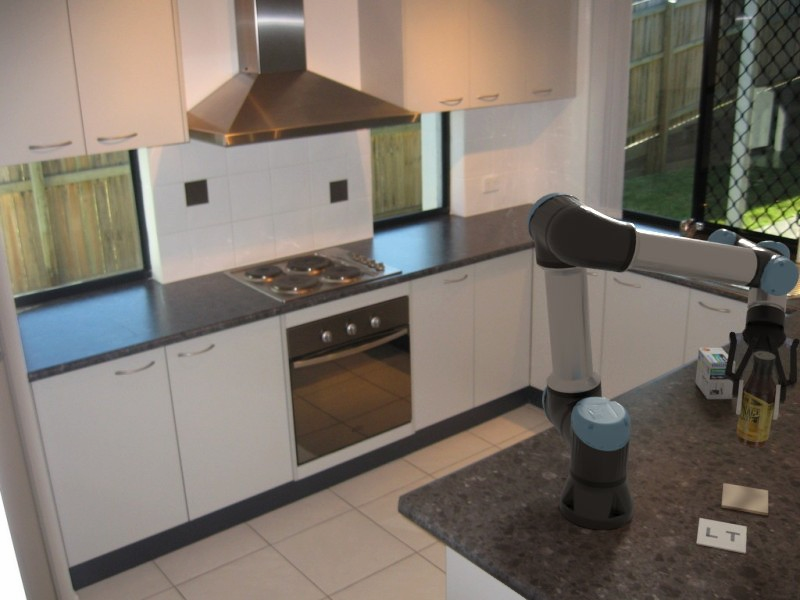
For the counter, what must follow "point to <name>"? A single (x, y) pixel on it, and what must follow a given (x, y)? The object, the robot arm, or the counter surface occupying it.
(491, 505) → the counter surface
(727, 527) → the tile
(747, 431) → the sauce bottle
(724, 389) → the light bulb box
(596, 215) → the robot arm
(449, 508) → the counter surface
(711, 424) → the counter surface
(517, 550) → the counter surface
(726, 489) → the coaster
